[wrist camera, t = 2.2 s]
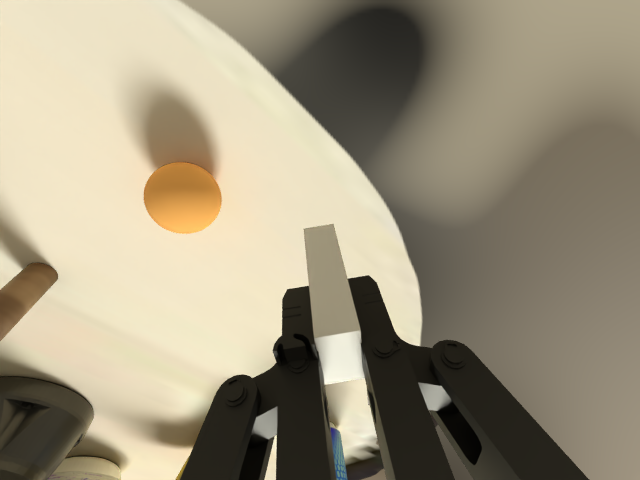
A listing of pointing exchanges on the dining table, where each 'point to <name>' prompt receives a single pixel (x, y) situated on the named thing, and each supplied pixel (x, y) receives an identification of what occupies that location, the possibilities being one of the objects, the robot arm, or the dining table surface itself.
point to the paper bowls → (86, 469)
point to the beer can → (338, 454)
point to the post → (23, 294)
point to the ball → (182, 197)
